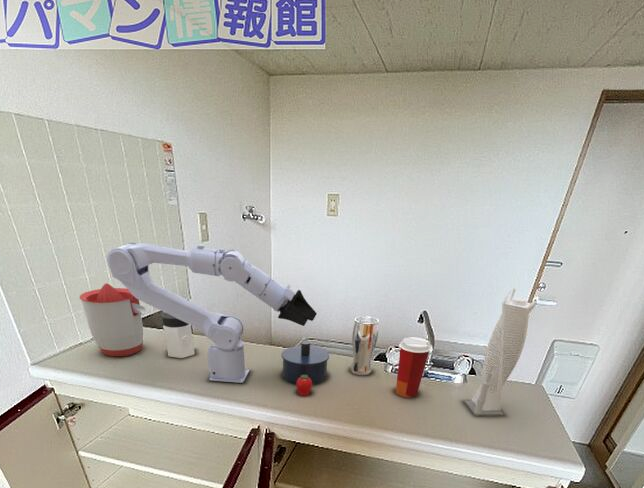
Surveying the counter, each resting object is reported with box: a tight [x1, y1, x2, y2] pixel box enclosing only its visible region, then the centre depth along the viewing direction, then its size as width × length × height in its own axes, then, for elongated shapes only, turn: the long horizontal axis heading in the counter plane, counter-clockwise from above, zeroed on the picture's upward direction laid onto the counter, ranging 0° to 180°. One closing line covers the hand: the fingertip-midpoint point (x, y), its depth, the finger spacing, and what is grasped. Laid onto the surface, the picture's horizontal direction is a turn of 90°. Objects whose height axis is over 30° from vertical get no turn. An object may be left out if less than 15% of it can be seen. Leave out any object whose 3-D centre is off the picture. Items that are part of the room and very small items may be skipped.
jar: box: [161, 312, 195, 359], centre depth 122 cm, size 9×8×12 cm
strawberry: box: [295, 375, 313, 396], centre depth 105 cm, size 4×4×5 cm
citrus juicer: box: [79, 282, 147, 357], centre depth 121 cm, size 16×17×20 cm
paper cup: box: [395, 336, 432, 398], centre depth 103 cm, size 8×8×14 cm
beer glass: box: [350, 315, 380, 376], centre depth 114 cm, size 7×7×15 cm
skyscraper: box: [463, 287, 537, 417], centre depth 94 cm, size 8×8×28 cm
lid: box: [280, 340, 330, 366], centre depth 110 cm, size 13×13×4 cm
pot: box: [282, 358, 328, 386], centre depth 113 cm, size 12×12×6 cm
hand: (310, 320), depth 103 cm, fingers open, 7 cm apart
